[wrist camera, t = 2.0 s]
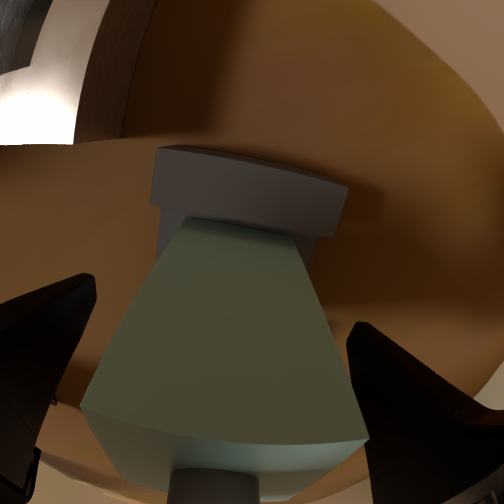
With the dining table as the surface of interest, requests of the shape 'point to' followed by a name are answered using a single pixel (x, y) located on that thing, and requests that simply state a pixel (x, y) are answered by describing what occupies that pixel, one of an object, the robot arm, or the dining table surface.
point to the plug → (224, 374)
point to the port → (67, 68)
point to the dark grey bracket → (244, 195)
